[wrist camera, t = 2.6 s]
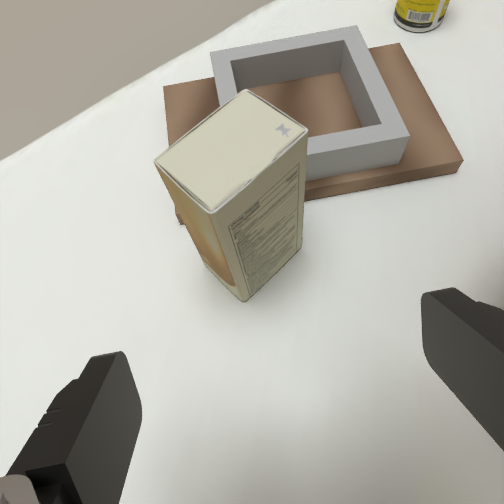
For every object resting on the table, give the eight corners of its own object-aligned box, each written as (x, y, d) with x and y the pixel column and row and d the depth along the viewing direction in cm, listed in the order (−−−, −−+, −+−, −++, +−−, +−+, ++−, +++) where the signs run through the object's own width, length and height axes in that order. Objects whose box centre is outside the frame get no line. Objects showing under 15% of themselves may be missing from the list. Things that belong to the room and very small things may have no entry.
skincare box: (262, 213, 30) (249, 81, 19) (303, 247, 28) (316, 124, 17) (200, 268, 28) (146, 157, 17) (240, 307, 26) (210, 213, 16)
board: (395, 57, 36) (399, 42, 35) (455, 172, 30) (463, 160, 29) (167, 99, 36) (163, 86, 35) (180, 224, 30) (175, 214, 28)
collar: (351, 57, 35) (356, 25, 32) (398, 164, 29) (410, 135, 26) (215, 82, 34) (209, 52, 32) (236, 194, 29) (231, 169, 26)
